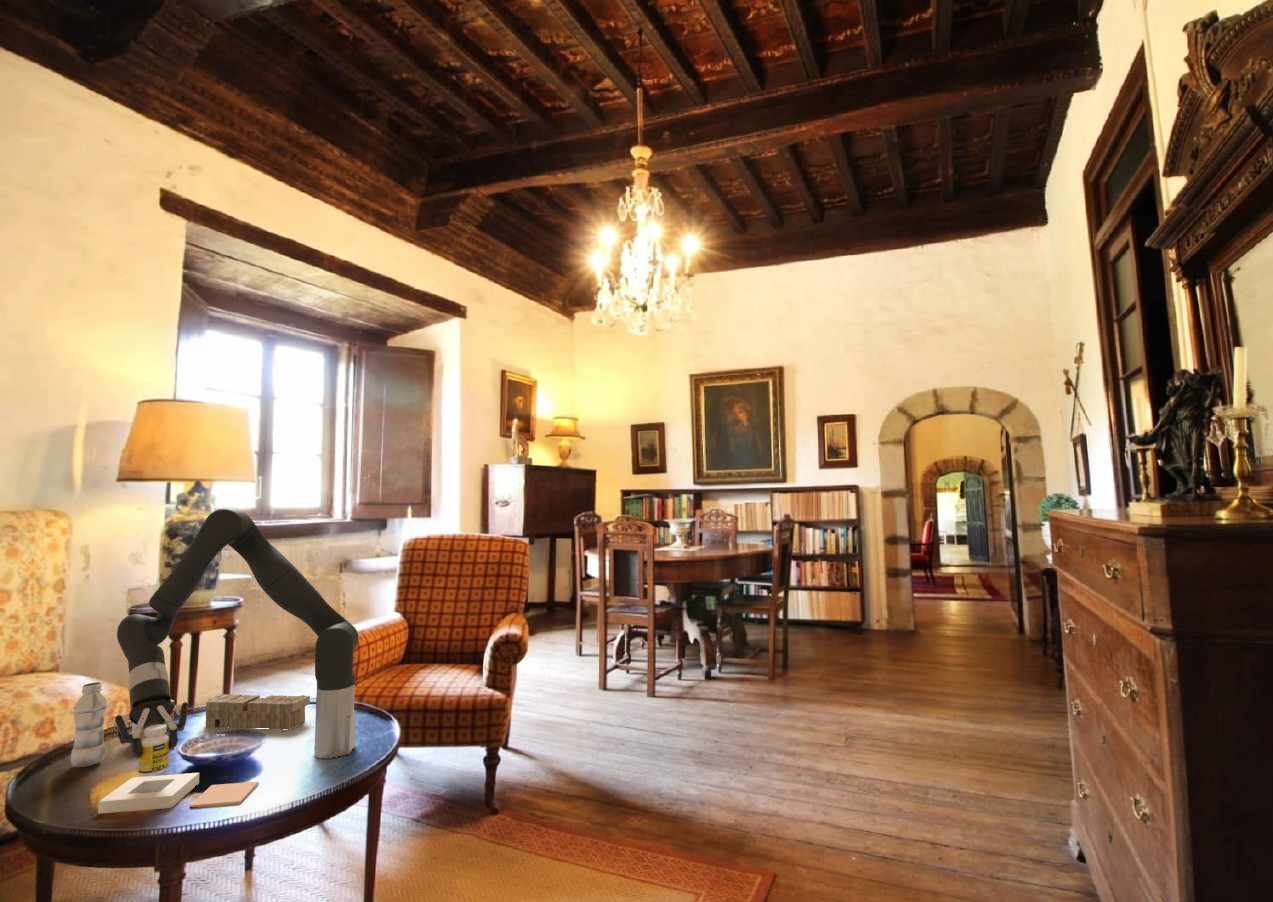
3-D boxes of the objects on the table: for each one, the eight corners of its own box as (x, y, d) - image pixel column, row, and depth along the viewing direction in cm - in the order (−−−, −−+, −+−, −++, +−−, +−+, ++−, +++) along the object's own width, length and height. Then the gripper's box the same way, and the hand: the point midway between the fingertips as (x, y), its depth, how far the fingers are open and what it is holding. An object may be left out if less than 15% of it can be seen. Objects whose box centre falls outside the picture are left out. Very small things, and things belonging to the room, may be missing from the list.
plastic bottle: (106, 764, 160) (111, 683, 161) (70, 773, 155) (76, 689, 156) (102, 757, 164) (107, 679, 166) (67, 765, 159) (73, 684, 161)
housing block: (198, 783, 149) (199, 772, 149) (171, 807, 137) (172, 795, 137) (131, 788, 146) (132, 777, 147) (98, 813, 135) (98, 801, 135)
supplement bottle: (151, 777, 139) (153, 732, 140) (131, 775, 140) (133, 730, 141) (174, 767, 144) (176, 723, 145) (154, 765, 146) (156, 722, 146)
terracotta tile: (258, 783, 149) (258, 781, 149) (240, 803, 139) (240, 801, 139) (211, 787, 147) (211, 784, 147) (189, 808, 137) (189, 805, 137)
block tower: (200, 731, 186) (293, 731, 183) (201, 701, 187) (293, 701, 184) (220, 721, 194) (310, 721, 191) (221, 693, 195) (310, 693, 192)
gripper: (112, 684, 144) (117, 752, 135) (188, 671, 154) (197, 734, 145) (108, 703, 147) (112, 771, 138) (182, 689, 157) (191, 751, 148)
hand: (156, 751), depth 141 cm, fingers closed on supplement bottle, 5 cm apart
